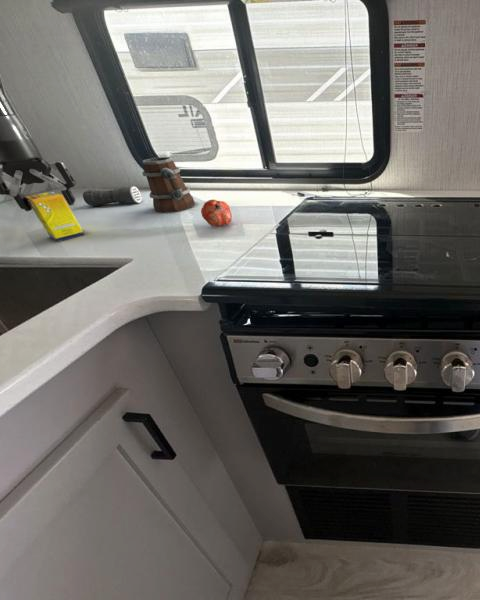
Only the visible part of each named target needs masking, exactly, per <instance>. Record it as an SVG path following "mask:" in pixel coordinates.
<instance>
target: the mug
mask: <svg viewBox="0 0 480 600" xmlns="http://www.w3.org/2000/svg"><path fill="white" fill-rule="evenodd" d="M142 168H143V171H142V173H141V174H142V176H143V177H146V180H147V183H148V187H149V190H150V192H149V196H148V197H149V198H150V199H152V200H153V201H152V205H153V209H154V211H155V212H158V213H159V212H160V213H173V212H174V213H175V212H179V211H184V210H188V209H190V208H192V207H195V206H196V202H195V198H194V197H193V196H192V193H191V189H190V187H189V186H187V185H186V184H185V182H184V180H183V178H182V175H181V174H180V172H181V168H180V167H179V166H177V165H176V163H175V162H174V160H173V159H172V157H170V156H169V157H168V156H161V157H152V158H147V159H143V160H142Z"/></svg>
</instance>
